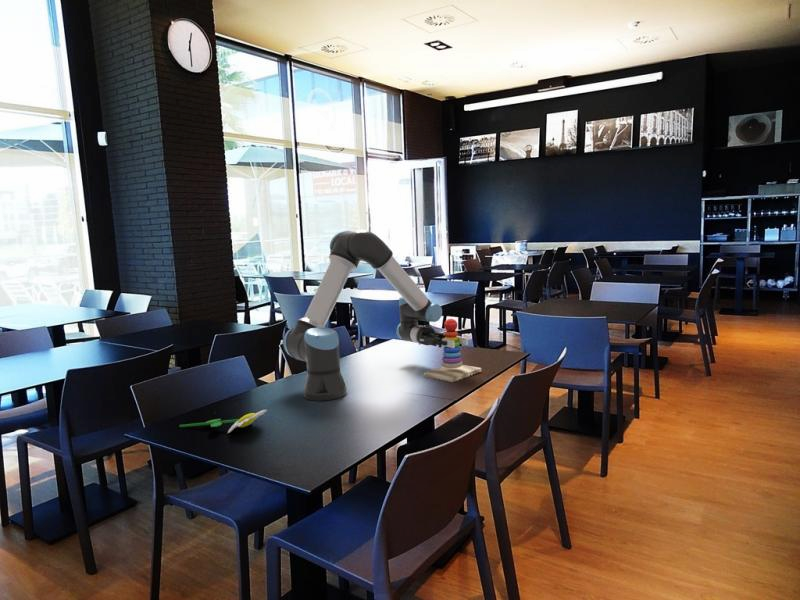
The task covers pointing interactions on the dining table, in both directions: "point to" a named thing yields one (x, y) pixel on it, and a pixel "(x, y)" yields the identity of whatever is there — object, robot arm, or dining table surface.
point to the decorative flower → (241, 422)
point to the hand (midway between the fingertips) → (460, 342)
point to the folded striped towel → (452, 373)
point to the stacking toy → (450, 354)
